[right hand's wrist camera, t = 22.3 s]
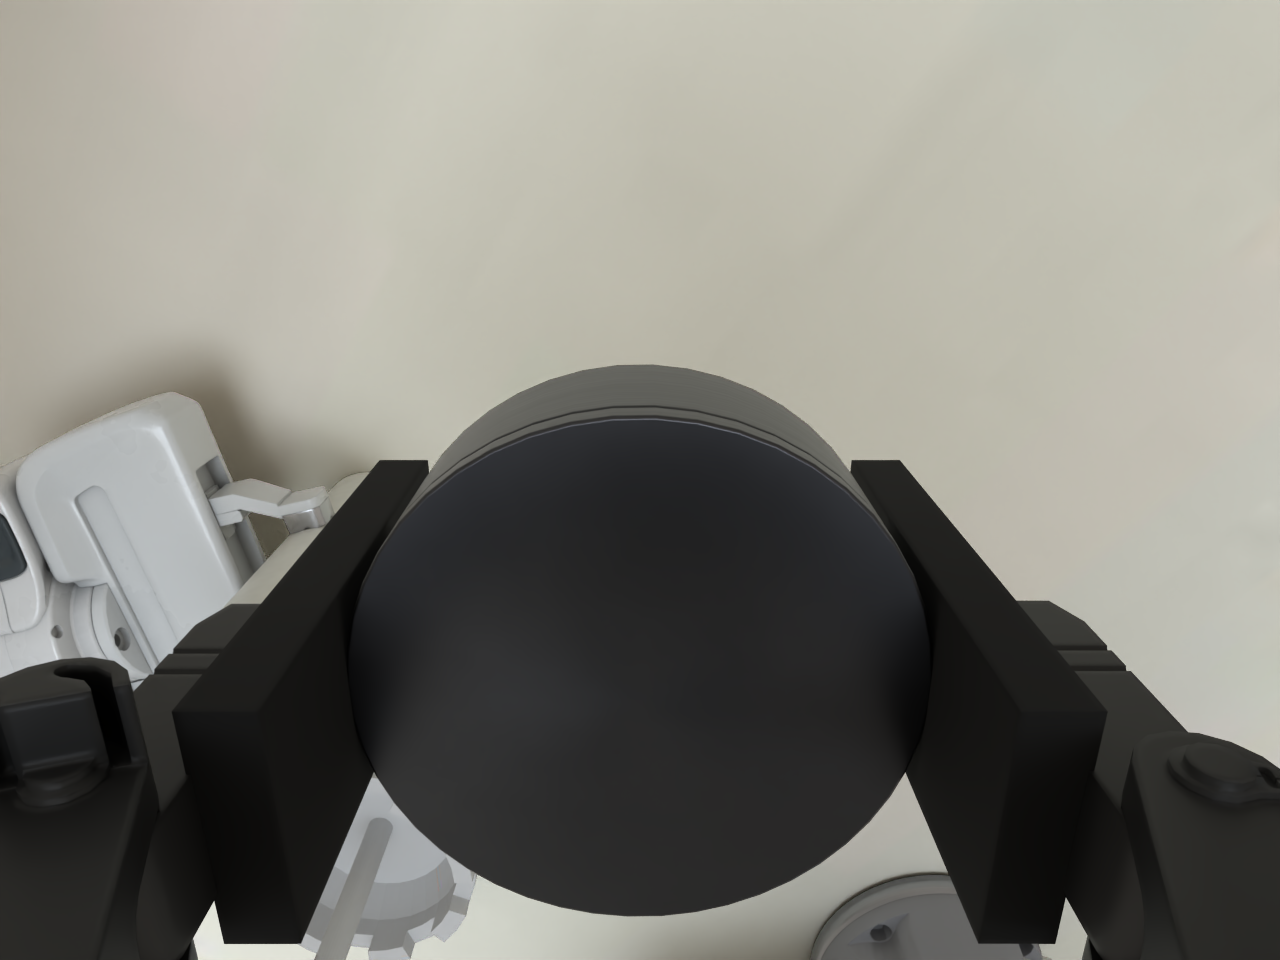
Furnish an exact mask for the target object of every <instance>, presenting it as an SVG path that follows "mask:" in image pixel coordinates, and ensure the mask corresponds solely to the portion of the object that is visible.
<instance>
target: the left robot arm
mask: <svg viewBox="0 0 1280 960" xmlns="http://www.w3.org/2000/svg"><path fill="white" fill-rule="evenodd" d="M251 512H254V513H258V514H263V515H267V516H271V517H276V518H280V519H284V522H285V524H286V526H287V528H288V531H289V533H290V534H292V533H297V532H301V531H303V530H305V529H306V527H308V528H311V529H313V528H319V527H322V526H324V525H326V524H327V523H328V522H329V521H330V518H331V517H333V516H334V515H335V513H334V510H333V507H332V504H331V502H330V499H329V495H328V493H327V491H326V488H325V486H318V487H314V488H309V489H305V490H300V491H296V492H292V491H291V490H290V489H286V488H283V487H280V486H276V485H273V484H270V483H266V482H263V481H260V480H256V479H253V478H250V479H246V480H241V481H237V482H233V480H232V478H231V475H230V473H229V471H228V468H227V466H226V464H225V461H224V459H223V457H222V454H221V452H220V450H219V447H218V445H217V443H216V440H215V438H214V436H213V433H212V431H211V429H210V426H209V424H208V422H207V419H206V417H205V414H204V412H203V410H202V407H201V406H200V404H199V403H198V402H197V401H195V400H193V399H191V398H189V397H186V396H184V395H181V394H178V393H176V392H166V393H162V394H158V395H155V396H151V397H148V398H145V399H142V400H139V401H136V402H133V403H131V404H128V405H126V406H123V407H121V408H118V409H116V410H114V411H111V412H109V413H107V414H105V415H103V416H100V417H98V418H96V419H94V420H92V421H89V422H87V423H85V424H83V425H81V426H79V427H77V428H75V429H72V430H71V431H69V432H67V433H65V434H63V435H61V436H59V437H57V438H55V439H53V440H52V441H50V442H48V443H46V444H44V445H42V446H40V447H39V448H37V449H36V450H34V451H33V452H32V453H31V454H29V455H26V456H24V457H21V458H19V459H17V460H14V461H12V462H10V463H8V464H6V465H4V466H2V467H0V678H1V677H4V676H6V675H9V674H11V673H14V672H16V671H19V670H21V669H24V668H26V667H30V666H34V665H39V664H43V663H47V662H51V661H55V660H60V659H71V658H84V657H94V658H100V659H106V660H112V661H115V662H117V663H118V664H120V665H121V666H122V667H124V668H125V669H127V670H128V673H129V677H130V682H131V686H132V690H133V691H134V690H135V689H136V688H137V687H138V686H139V685H140V684H141V683H142V682H143V681H144V680H145V679H146V677H147V676H148V675H149V674H154V669H155V668H156V667H157V666H158V665H159V663H160V662H161V661H162V660H163V659H164V658H165V657H166V656H167V655H168V654H173V648H174V647H175V646H176V645H177V644H178V643H179V642H180V641H181V640H182V639H183V638H184V637H185V635H186V634H187V633H188V632H189V631H190V630H191V629H192V628H193V627H194V626H195V625H196V624H197V623H199V622H201V621H203V620H204V619H206V618H208V617H209V616H211V615H213V614H215V613H216V612H218V611H220V610H221V609H222V608H223V607H224V606H225V605H226V604H227V603H228V602H229V601H230V600H231V598H232V597H233V596H234V595H235V594H236V593H237V592H238V591H239V590H240V589H241V588H242V586H243V585H244V584H245V583H246V582H247V581H248V580H249V579H250V578H251V577H252V575H253V574H254V573H255V572H256V571H257V570H258V569H259V568H260V567H261V566H262V564H263V563H264V562H265V561H266V560H267V559H266V557H265V555H264V552H263V550H262V548H261V545H260V543H259V541H258V538H257V536H256V534H255V531H254V529H253V527H252V524H251V522H250V520H249V517H248V515H249V514H250V513H251Z"/></svg>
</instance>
